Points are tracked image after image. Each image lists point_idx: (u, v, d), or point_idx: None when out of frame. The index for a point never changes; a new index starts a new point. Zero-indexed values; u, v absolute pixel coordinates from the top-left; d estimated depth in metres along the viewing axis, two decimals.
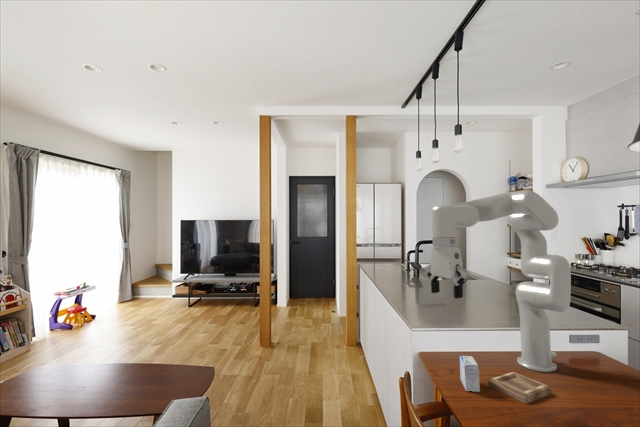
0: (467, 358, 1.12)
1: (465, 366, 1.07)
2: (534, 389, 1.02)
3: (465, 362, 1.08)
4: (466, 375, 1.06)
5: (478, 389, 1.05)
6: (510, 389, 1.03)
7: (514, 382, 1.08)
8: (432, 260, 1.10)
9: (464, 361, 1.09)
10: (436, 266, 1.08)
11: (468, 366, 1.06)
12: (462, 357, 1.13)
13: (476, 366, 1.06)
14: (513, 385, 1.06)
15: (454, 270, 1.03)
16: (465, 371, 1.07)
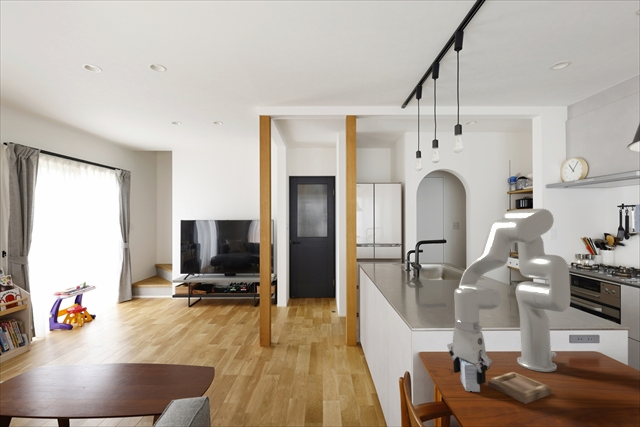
0: None
1: (465, 366, 1.07)
2: (534, 389, 1.02)
3: (465, 362, 1.08)
4: (466, 375, 1.06)
5: (478, 389, 1.05)
6: (510, 389, 1.03)
7: (514, 382, 1.08)
8: (454, 341, 1.12)
9: (464, 361, 1.09)
10: (459, 348, 1.10)
11: (468, 366, 1.06)
12: None
13: None
14: (513, 385, 1.06)
15: (477, 356, 1.05)
16: (465, 371, 1.07)
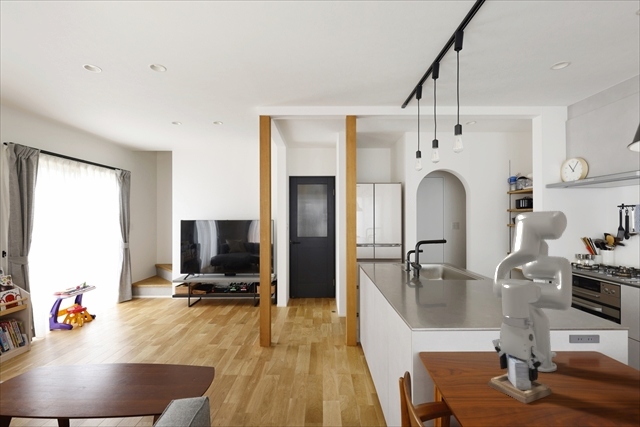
0: None
1: (515, 364, 1.04)
2: (534, 389, 1.02)
3: (515, 360, 1.06)
4: (516, 373, 1.04)
5: (529, 387, 1.03)
6: (510, 389, 1.03)
7: None
8: (502, 337, 1.10)
9: (513, 359, 1.07)
10: (507, 344, 1.08)
11: (518, 363, 1.04)
12: (510, 355, 1.10)
13: (527, 364, 1.03)
14: (513, 385, 1.06)
15: (529, 353, 1.02)
16: (515, 369, 1.04)
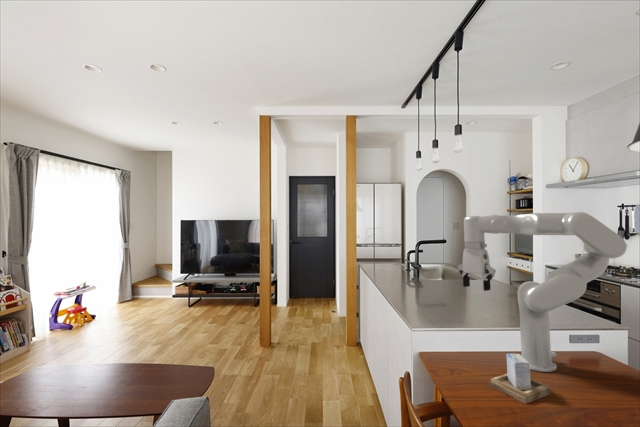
0: (515, 355, 1.09)
1: (515, 364, 1.04)
2: (534, 389, 1.02)
3: (514, 360, 1.06)
4: (516, 373, 1.04)
5: (529, 387, 1.03)
6: (510, 389, 1.03)
7: None
8: (464, 260, 1.36)
9: (513, 359, 1.07)
10: (468, 265, 1.34)
11: (518, 363, 1.04)
12: (510, 355, 1.10)
13: (527, 364, 1.03)
14: None
15: (483, 268, 1.28)
16: (515, 369, 1.04)
